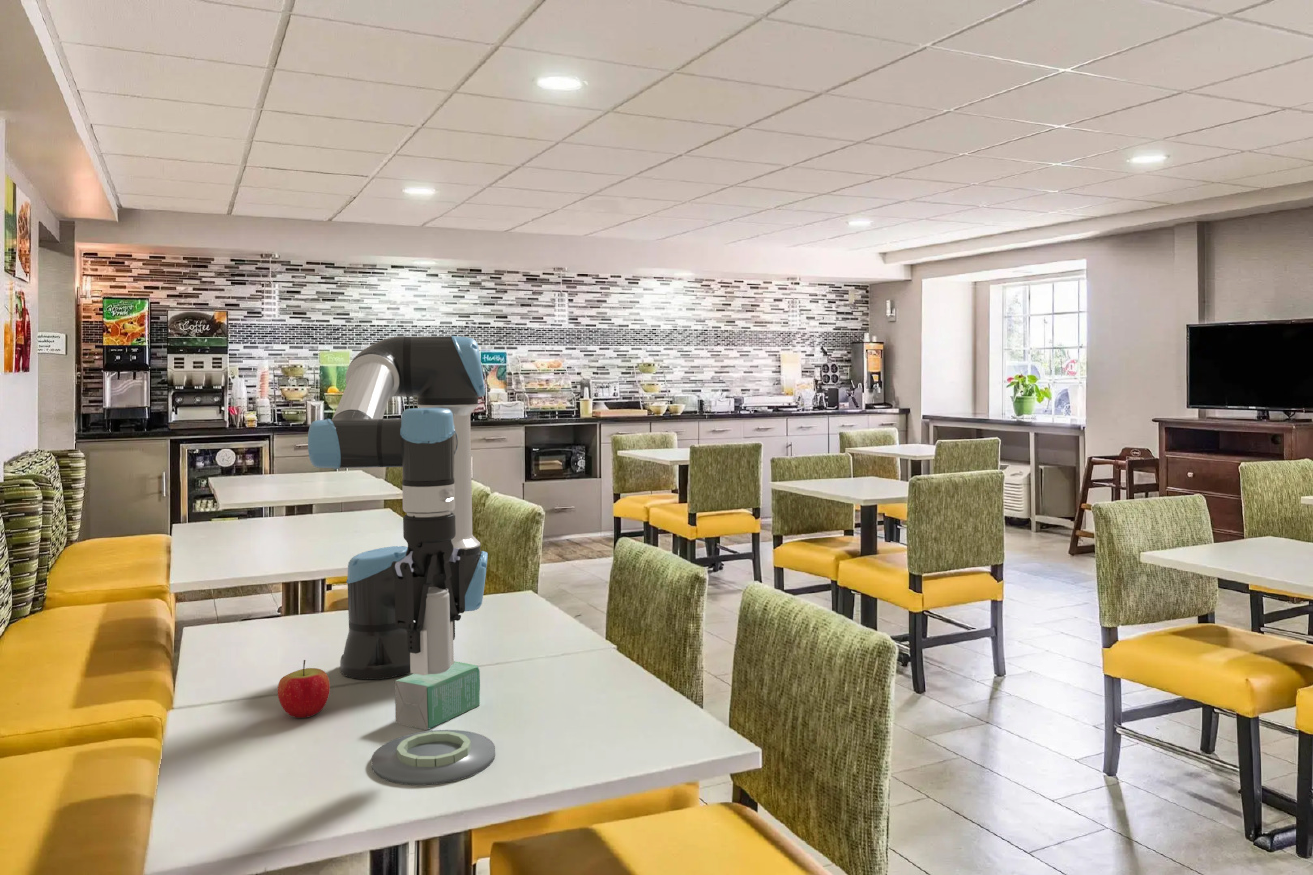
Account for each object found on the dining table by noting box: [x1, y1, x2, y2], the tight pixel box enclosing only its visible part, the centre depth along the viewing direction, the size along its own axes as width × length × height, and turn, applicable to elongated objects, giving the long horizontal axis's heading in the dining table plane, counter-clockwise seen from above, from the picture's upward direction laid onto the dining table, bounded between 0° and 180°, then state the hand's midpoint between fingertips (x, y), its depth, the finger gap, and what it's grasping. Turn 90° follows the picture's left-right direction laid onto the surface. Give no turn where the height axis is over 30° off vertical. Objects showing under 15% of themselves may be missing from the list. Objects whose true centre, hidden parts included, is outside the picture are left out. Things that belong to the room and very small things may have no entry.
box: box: [394, 660, 481, 731], centre depth 161 cm, size 7×14×8 cm, turn 151°
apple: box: [277, 659, 331, 719], centre depth 161 cm, size 8×8×10 cm
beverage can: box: [422, 587, 451, 674], centre depth 141 cm, size 5×5×12 cm
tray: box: [371, 729, 496, 786], centre depth 143 cm, size 18×18×2 cm
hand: (432, 667), depth 142 cm, fingers closed on beverage can, 5 cm apart
